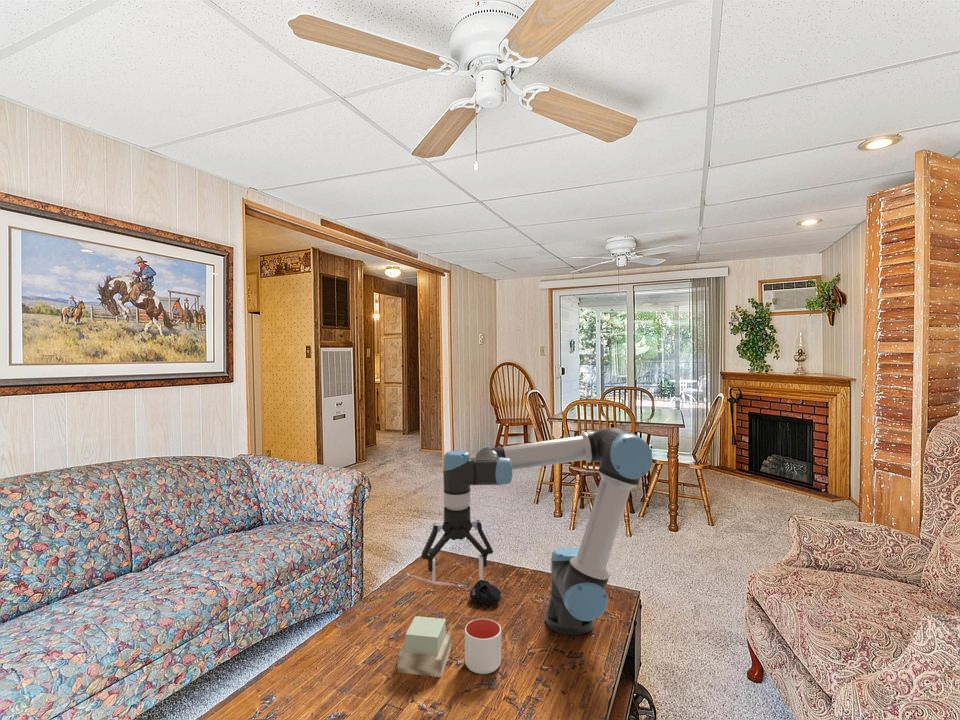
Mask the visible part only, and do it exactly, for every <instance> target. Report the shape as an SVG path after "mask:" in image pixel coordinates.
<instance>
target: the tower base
mask: <svg viewBox="0 0 960 720" xmlns="http://www.w3.org/2000/svg"><path fill="white" fill-rule="evenodd" d="M451 650H452V633H446V637H445V639H444V642H443V644H442V647H441V649H440V652H439V654H438V656H434V655H425V654H416V653H407V652H405V641H404V642H403V644H402V647H401V648H400V649H399V652H398V654H397V673H402V674H409V675H419V676H425V677H426V676H427V677H435V678H442V676H443V673H444V671H445V668H446V664H447V662H448V660H449V655H450V653H451Z"/></svg>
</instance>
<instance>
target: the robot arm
mask: <svg viewBox="0 0 960 720" xmlns="http://www.w3.org/2000/svg"><path fill="white" fill-rule="evenodd" d="M581 461H586V463H588V464H591V463H599V467H598V470H597V473H598V474H599V476H600V478H601V479H600V482H599V485H598V488H597V492H596V495H595V497H594V501H593V504H592V508H591V511H590V514H589V517H588V521H587V524H586V526H585V529H584V533H583V536H582V538H581V542H580V545H579V547H574V546H573V547H571V546H569V547H568V546H567V547H566V546H565V547H558V548H557V547H556V548H555V549H554V550H553V551H552V552H551V557H550V561H551V563H550V568H551V569H550V571H551V573H550V574H551V575H550V576H551V577H550V580H551V581H550V584H551V585H550V592H551V593H550V598H549V601H548V604H547V607H546V610H545V619H544V620H545V624H546V625H547V626H548V627H549V628H550V629H551V630H552V631H554V632H557V633H559V634H560V635H561V634H562V635H565V636H566V635H567V636H581V635H585V633H586V634H588V633H590V632H591V631H592V630H593V629H594V624H595V620H596V619H599V618H600V617H601V616H602V615H603V614H604V613H605V612H606V611H607V608H608V603H609V602H608V601H609V599H608V594H607V592H606V589H607V584H608V583H609V579H610V573H609V572H608V570H607V565H608V564H609V563H608V562H609V560H610V556H611V553H612V551H613V547H614V544H615V540H616V537H617V534H618V530H619V528H620V524H621V522H622V519H623V515H624V513H625V508H626V506H627V503H628V499H629V496H630V492H631V490H632V489H634V488H636V487H638V486H639V483H640V480H641V478H642V477H643V476H645V475H647V474H648V473H649V471H650V470H651V468H652V464H653V452H652V450H651V447H650V446H649V444H648V443H647V442H646V441H645V440H644V439H643V438H641V437H640V436H639V435H637V434H635V433H632V432H630V431H627V430H625V429H622V428H619V427H607V428H601V429H596V430H589V431H584V432H582V433H581V434H580V435H578V436H570V437H563V438H556V439H549V440H548V439H547V440H541V441H535V442H527V443H520V444H513V445H507V446H505V445H504V446H500V447H492V446H487V445H486V446H483V447H481V448H480V449H478V451H477V452H476V454H475V457H471V455H470V452H469V451H466V450H457V449H456V450H449V451H447V452H446V453H444V455H443V466H442V467H443V468H442V470H443V471H442V472H443V473H442V475H443V506H444V507H443V523H442V524H441V523H440V524H438V523H437V522H434V523H433V524H432V529H431V530H432V531H431V533H430V535H429V537H428V538H427V541H426V543H425V545H424V548H423V550H422V551H421V559H423V560H427V567H428V568H427V569H428V572H430V573H431V575H432V576H431V580H432V585H436V557H437V555H438V553H439V552H440V551H441V549H443V547H444V546H445V544H446V543H448V542H449V541H450V540H452V541H456V540H464V539H465V538H466V540H468V541H469V542H470V543H471V544H472V545H473V547H474V548H475V549H476V550H477V551H478V552H479V553H478V577H479V579H480V580H484V568H487V566H488V561H487V560H488V558H487V557H488V555H493V553H494V550H493V547H492V546H491V544H490V543H489V541H488V539H487V536H486V535H485V532H484V531H483V525H482V523H481V520H479V519H477V520H476V521H473V522H472V521H471V507H470V504H471V486H502V485H509V484H511V483H512V481H513V471H514V470H523V469H528V468H529V469H530V468H537V467H545V466H551V465H557V464H559V465H560V464H565V463H571V462H572V463H574V462H581ZM472 528H474V530H475V531H477V532H478V534H479V536H480V538H481V540H482V542H483V543H484V546H485V548H484V547H483V546H482V544H481V543H480V542H479V541H478V540H477V539H476V538H475V536H473V535H472V533H471V532H470V531H471V530H472ZM441 530H442V531H443V532H444V533H443V534H442V537H440V539H439V540H438V541H437V543H436V544H435V545H434V547H433V548H432V546H433V544H434V542H435V540H436V538H437V535H438V534H439V533H440V532H441ZM431 548H432V549H431ZM480 580H479V581H480Z"/></svg>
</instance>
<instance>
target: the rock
mask: <svg viewBox="0 0 960 720" xmlns="http://www.w3.org/2000/svg"><path fill="white" fill-rule="evenodd" d="M501 597H502V593H501V590H500V589H499V588H498V587H497V586H495V585H493V584H491V583H490V582H489V581H488V580H485V579H483V580H478V581H477V582H475V584H474V585H473V586H472V587H471V589H470V590H469V598H470V600H471V601H473V602H475V603H480V604H483V605H492V604H493V605H494V604H498V603H499V602H500V601H501Z"/></svg>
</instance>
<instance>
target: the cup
mask: <svg viewBox="0 0 960 720" xmlns="http://www.w3.org/2000/svg"><path fill="white" fill-rule="evenodd" d="M501 662H502V626H501V625H500V624H499V623H498V622H496V621H495V620H492V619H487V618H478V619H474V620H472V621H469V622H468V623H467V624H466V626H465V627H464V663H465V665H466V668H468V669H469V670H470V671H471V672H473V673H475V674H479V675H488V674H491V673H494V672H495V671H496V670H498V669H499V668H500V666H501Z"/></svg>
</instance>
